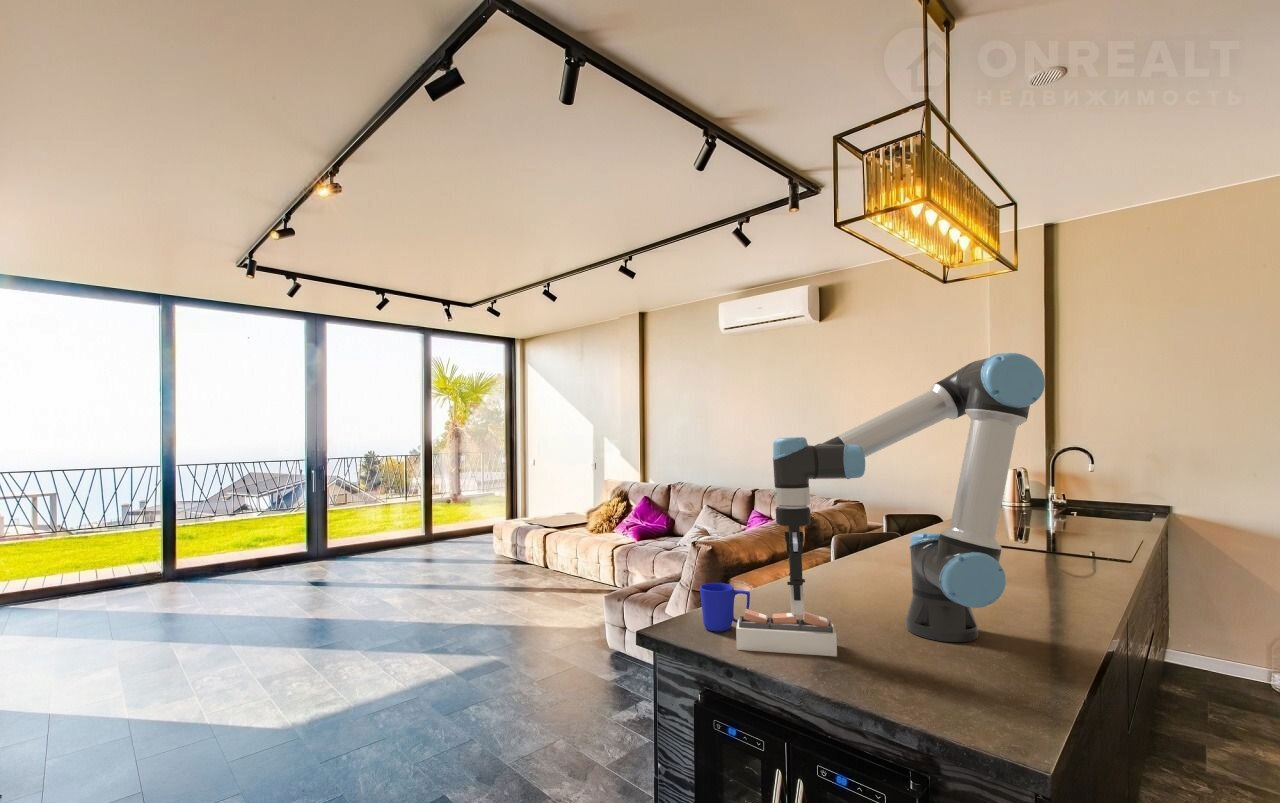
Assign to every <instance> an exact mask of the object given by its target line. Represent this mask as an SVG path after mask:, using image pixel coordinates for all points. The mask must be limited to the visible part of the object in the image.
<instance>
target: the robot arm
mask: <svg viewBox="0 0 1280 803" xmlns="http://www.w3.org/2000/svg"><path fill="white" fill-rule="evenodd" d="M1045 386H1046V379H1045V375H1044V372H1043V370H1042V368H1041V367H1039V365H1038V364H1037V363H1036V362H1035V360H1033V359H1032V358H1030V357H1029V356H1026V355H1025V354H1021V353H1017V352H1006V353H1005V352H1003V353H997V354H994V355H991V356H989V357H987V358H984V359H978V360H975V361H972V362H970V363H968V364H965V365H964V366H963V367H961V368H959V369H958V370H956V371H954V372H953V373H951V374H949V375H948V376H945V377H944V378H943V379H940V380H939V381H937V382H935V383H933V384H931V387H930V390H929V391H926V392H924V393H922V394H920V395H917V396H916V397H914V398H912V399H910V400H908V401H905V402H904V403H902V404H899V405H898V406H896V407H893V408H892V409H890V410H887V411H886V412H883V413H881V414H879V415H878V416H876V417H874V418H872V419H869V420H867V421H865V422H863V423H860V424H858V425H857V426H855V427H853V428H851V429H849V430H847V431H844V432H843V433H841V434H838V435H837V436H835V437H832V438H831V439H830V438H829V439H828V440H826V441H824V442H822V443H817V444H815V445H810V444H808V441H807V438H806V437H803V436H802V437H798V436H797V437H778V438H775V439H774V440H773V442H772V443H773V444H772V446H773V447H772V448H773V449H772V450H773V451H772V452H773V454H772V456H773V457H772V462H773V480H774V481H773V482H774V491H772V493H771V495H772V496H774V497H775V499H774V500H775V505H777V507H776V508H775V521H776V522H775V523H776V524H777V525H780V526H785V527H788V528H787V529H788V530H787V531H784V540H785V542H786V543H785V544H786V553H787V554H788V564H789V574H788V576H789V581H787V584H786V585H787V586H789V588H790V591H789V592H790V595H789V596H790V611H791V612H790V613H791V614H792V615H796V616H804V613H805V603H804V583H806V579H805V578H803V558H802V557H803V556H802V554H803V553H804V544H803V543H804V540H805V539H804V533H803V531H800V527H801V526H809V525H810V524H811V522H812V520H811V517H812V516H811V508H810V507H809V505H810V504H811V497H810V496H811V494H810V480H822V479H823V480H827V479H828V480H830V479H831V480H833V479H834V480H835V479H839V480H840V479H847V480H851V479H860V478H862V477H863V476H864V475H865V472H866V458H867V457H869V456H871V455H873V454H875V453H877V452H879V451H881V450H883V449H885V448H888V447H890V446H892V445H894V444H896V443H898V442H900V441H903V440H904V439H906V438H908V437H911V436H913V435H914V434H917V433H919V432H921V431H923V430H925V429H927V428H929V427H932V426H933V425H935V424H937V423H940V422H942V421H944V420H946V419H949V420H956V419H958V418H960V417H962V416H965V415H967V416H968V417H969V419H970V422H969V423H970V424H969V429H968V434H967V440H966V444H965V447H964V448H965V449H964V453H963V454H964V455H963V459H962V464H961V469H960V473H959V479H958V484H957V489H956V493H955V499H954V504H953V509H952V515H951V518H950V524H949V525H948V527H947V528H945V529H943V530H942V531H940V532H916V533H913V534H911V535H910V538H909V539H910V542H909V543H910V544H909V549H910V550H909V551H910V569H911V571H910V572H911V587H912V588H911V589H912V597H911V600H910V603H909V605H908V606H909V607H908V610H907V614H906V617H905V628H906V630H907V631H908V632H910V633H911V634H914V635H916V636H919V637H921V638H924V639H928V640H933V641H938V642H948V643H949V642H950V643H966V642H972V641H975V640H977V639H978V638H979V626H978V623H977V621H976V618H975V616H974V613H973V610H972V609H977V608H978V609H980V608H984V607H985V608H986V607H988V606H990V605H992V604H993V603H995V602H997V601H998V599H1000V598H1001V597H1002V595H1003V593H1004V591H1005V589H1006V585H1007V577H1006V573H1005V570H1004V569H1003V567H1002V565H1001V564H1000V560H1001V553H1002V548H1003V547H1002V546H1001V544H1000V543H999V542H998V540H997V539H996V534H997V530H998V529H997V528H998V523H999V519H1000V515H1001V508H1002V504H1003V498H1004V494H1005V488H1006V483H1007V479H1008V474H1009V469H1010V465H1011V464H1010V462H1011V459H1012V453H1013V449H1014V444H1015V438H1016V433H1017V428H1018V427H1019V426H1021V425H1023V424H1024V423H1026V422H1028V418H1029V413H1030V412H1029V411H1030V407H1031V405H1033V404H1035V403H1036V402H1037V401H1038V400H1040V398H1041V396H1043V393H1044V391H1045Z"/></svg>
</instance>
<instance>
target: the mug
mask: <svg viewBox="0 0 1280 803" xmlns="http://www.w3.org/2000/svg"><path fill="white" fill-rule="evenodd" d="M699 590H700V592H699V593H700V599H701V600H700V602H701V610H702V611H701V612H702V622H703V626H704V628H705V629H706V630H708V631H710V632H718V633H719V632H726V631H728V630H730V629H731V627H732V624H733V622H734V623H736V624H737V622H738V619H736V618H735V616H734V614H735V613H734V612H735V597H736V595H739V594H740V595H742V594H743V595H746V608H745V609H749V610H750V603H751V602H750V601H751V600H750V599H751V594H750V591H748V590H739V589H735V588H734V586H733V585H732V584H728V583H724V582H709V583H705V584H701V585H700V587H699Z"/></svg>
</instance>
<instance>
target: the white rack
mask: <svg viewBox="0 0 1280 803" xmlns="http://www.w3.org/2000/svg"><path fill="white" fill-rule="evenodd" d="M737 620H738V622H737V623H736V628H735V634H736V636H735V637H736V638H735V639H736V640H735V641H736V642H735V643H736V651H748V652H749V651H750V652H754V651H755V652H765V653H766V652H767V653H768V652H769V653H781V654H783V653H784V654H797V655H811V656H825V657H838V646H837V632H836V629H835V625H834V624H833V623H832V622H831V620H828V622H829V625H828V627H818V626H815V625H812V624H809V623H806V622H804V619H803V618H802V619H801V618H796V621H797V624H773V617H767V623H766V624H764V623H755V622H752V621H749V620H746V619H744V615H743V616H741V615H740V616H739V618H737Z"/></svg>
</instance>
